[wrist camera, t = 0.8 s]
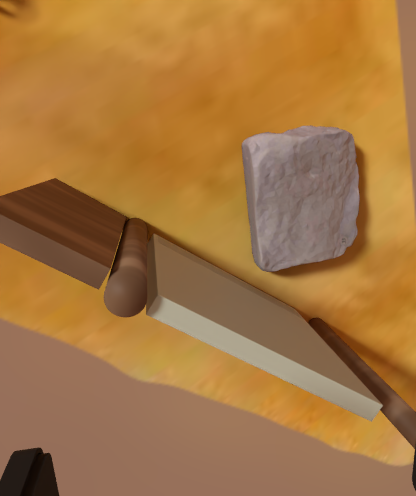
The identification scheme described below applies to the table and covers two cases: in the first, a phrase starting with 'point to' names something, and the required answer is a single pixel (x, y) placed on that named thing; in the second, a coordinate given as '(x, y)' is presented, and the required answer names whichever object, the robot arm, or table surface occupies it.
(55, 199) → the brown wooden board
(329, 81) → the table surface
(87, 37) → the table surface
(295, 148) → the stone block
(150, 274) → the door
